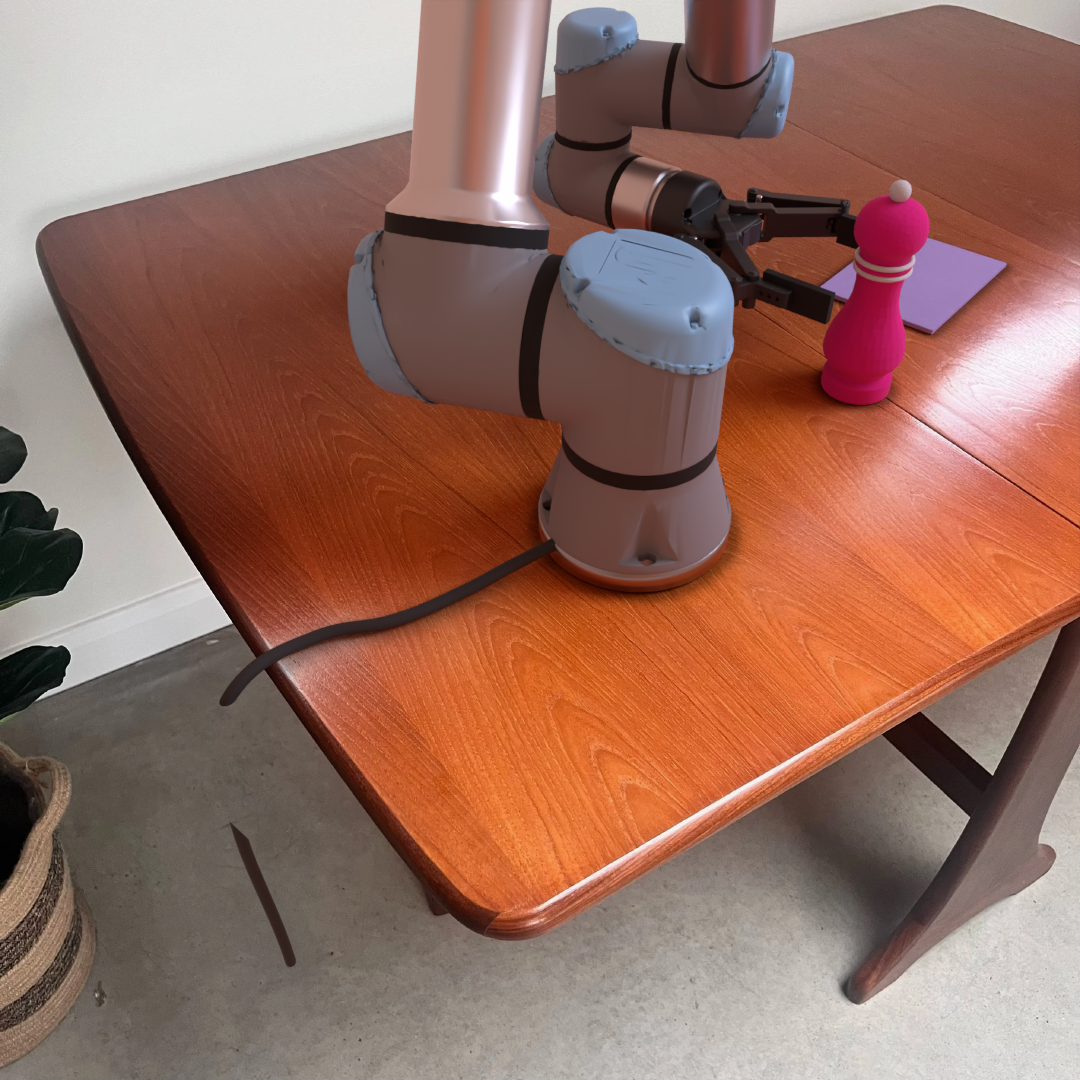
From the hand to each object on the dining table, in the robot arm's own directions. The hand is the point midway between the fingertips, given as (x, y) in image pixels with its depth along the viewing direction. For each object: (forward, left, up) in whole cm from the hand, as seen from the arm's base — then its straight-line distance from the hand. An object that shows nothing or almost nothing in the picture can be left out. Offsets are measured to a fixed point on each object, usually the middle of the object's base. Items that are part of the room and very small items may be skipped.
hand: (869, 277), depth 91 cm
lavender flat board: (+22, +4, -11) cm, 25 cm away
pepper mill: (0, -1, -11) cm, 11 cm away
